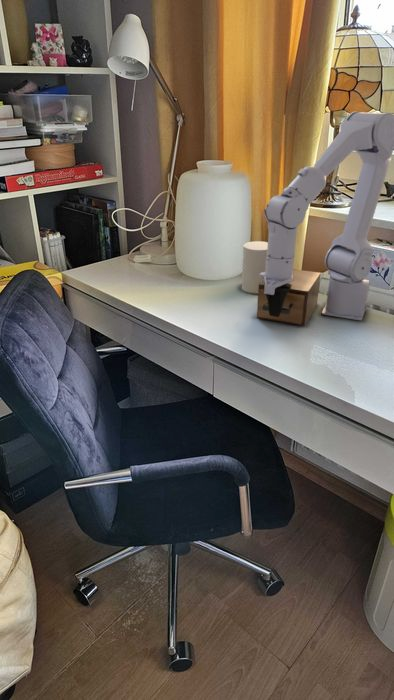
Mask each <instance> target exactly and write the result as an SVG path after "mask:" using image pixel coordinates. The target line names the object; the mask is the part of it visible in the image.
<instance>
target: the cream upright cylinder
mask: <svg viewBox="0 0 394 700" xmlns="http://www.w3.org/2000/svg"><path fill="white" fill-rule="evenodd" d="M267 247H268V241H260V240H259V241H258V240H257V241H256V240H255V241H248V242H245V243H243V245H242V272H241V290H242V291H243V292H245V293H249V294H257V295H258V289H259V283H260V282H261V281H262V280H263V279H264V278H261V277H260V274H261V273H262V272H266V260H267Z"/></svg>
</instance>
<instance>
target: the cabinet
mask: <svg viewBox="0 0 394 700" xmlns="http://www.w3.org/2000/svg"><path fill="white" fill-rule="evenodd" d="M292 275H293V280H292V281H291V282H289V283H288V284H291V285H292V286H291V288H290V290H289V292H293V293H300V294H305V302H304V311H303V320H302V323H301V324H297V323H292V322H286V321H280V320H274V319H268V318H262V317H258V306H259V290H260V289H261V288H262V289H263V285H264V284H265V280H264V279H263V280H262V281H261V282H260V283H259V289H258V294H257V306H256V307H257V309H256V311H257V312H256V318H257V319H261V320H266V321H267V320H268V321H273V322H278V323H285V324H291V325H296V326H301V327H302V326H303V327H305V326H306V325H307V323H308V321H309V319H310V317H311V316H312V314H313V312H314V311H315V309H316V307H317V305H318V298H319V292H320V291H319V289H320V283H321V272H318V271H310V270H303V269H295V268H293V273H292Z"/></svg>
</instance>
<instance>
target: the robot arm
mask: <svg viewBox="0 0 394 700" xmlns="http://www.w3.org/2000/svg"><path fill="white" fill-rule="evenodd" d="M338 130H339V132H338V134H337V135H336V136H335V137H334V139H332V141H331V143H330V144H329V145H328V147H327V148H326V149H325V150H324V152H323V153H322V155H321V156H319V158H318V160H316V162H315V163H314V164H313V165H312V166H309V165H307V166H305V167H304V168H300V169H299V170H298V172H297V175H296V176H295V177H294V179H293V180H292V181H291V182H290V183H289V184H288V185H287V187H284V189H283V190H282V191H281V194H277V195H274V196H273V197H272V198H271V199H270V200H269V201H268V202H267V204H266V207H265V208H264V209H263V215H264V218H265V220H266V222H267V229H268V236H267V242H268V247H267V260H266V272H262V273H261V274H260V277H261V278H264V280H265V284H264V285H263V290H264V294H266V297H267V300H268V306H269V315H270V316H275V317H279V316H280V313H281V310H282V307H283V303H284V300H285V298H286V295H287V293H288V292H289V290H290V288H291V286H292V285H291V284H288V283H289V282H291V281H292V280H293V275H292V273H293V269H294V261H295V251H296V241H297V233H298V227H299V226H300V225H301V224H302V223H303V222H304V220H305V217H306V214H307V211H308V209H309V206H310V205H311V203H312V202H314V200H315V199H316V198H317V197H318V195H320V193H321V192H323V190H324V189H325V188H326V185H327V177H328V176H329V175H330V174H332V172H334V170H335V169H337V167H338V166H339V165H340V164H341V163H342V162H344V160H345V159H347V158H348V156H350V154H352V153H353V152H356V153H357V155H358V156H359V157H360V159H361V161H362V165H361V169H360V172H359V175H358V179H357V183H356V186H355V190H354V193H353V196H352V200H351V204H350V208H349V211H348V213H347V218H346V221H345V224H344V228H343V231H342V234H340V235H338V236H337V237H335V238H334V239H333V240H332V241H331V245H330V247H329V249H328V251H327V252H326V254H325V257H324V267H325V268H326V269H327V271H328V272H327V274H328V275H329V281H328V287H327V295H326V303H325V305H324V307H323V309H322V311H321V315H323V316H329V317H330V316H331V317H337V318H343V319H349V320H354V321H362V320H363V318H364V316H365V312H366V311H367V308H368V297H369V290H370V285H371V280H369V279H366V278H367V277H368V275H369V274H370V272H371V270H372V266H373V265H372V264H373V255H374V248H373V246H372V245H371V243H370V242H369V240H368V235H369V232H370V229H371V225H372V222H373V220H374V215H375V212H376V209H377V205H378V203H379V199H380V196H381V192H382V189H383V186H384V183H385V180H386V177H387V173H388V170H389V166H390V163H391V161H392V156H393V154H394V153H393V152H394V114H393V113H391V112H362V111H352V112H351V113H349V114H348V115H347V117H346V118H345V120H343V121H342V122H341V123H340V125H339V129H338Z"/></svg>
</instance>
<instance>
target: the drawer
mask: <svg viewBox="0 0 394 700" xmlns="http://www.w3.org/2000/svg"><path fill="white" fill-rule="evenodd" d="M304 302H305V294H300V293H297V294H295V293H289V292H288V293H287V295H286V298H285V300H284V303H283V307H282V310H281V313H280V316H279V317H275V316H270V315H269V306H268V300H267V297H266V294H264V290H263V289H262V288H261V289H260V290H259V306H258V305H257V306H258V317H262V318H268V319H274V320H280V321H286V322H292V323H297V324H301V323H302V320H303V311H304Z"/></svg>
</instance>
